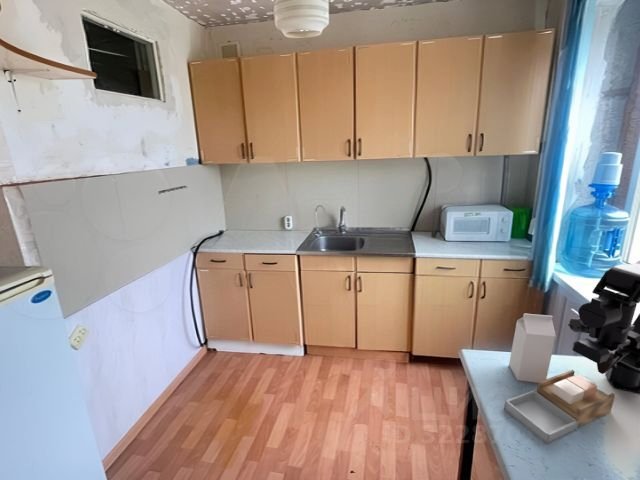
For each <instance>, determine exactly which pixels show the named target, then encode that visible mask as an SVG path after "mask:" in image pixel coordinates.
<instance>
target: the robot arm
mask: <svg viewBox="0 0 640 480" xmlns="http://www.w3.org/2000/svg"><path fill="white" fill-rule="evenodd" d="M611 290H612V291H611ZM592 294H593V295H597V296H598V297H593V298H591V300H590V301H589V302H586V303H583V304H582V305H581V306H579V308H578V317H576V316H575V317H572V318H571V319H570V320H569V323H568V327H569V329H570V330H571V331H572V332H573V333H584V334H588V337H590V338H592V339H596V340H595V341H593V340H592V339H589V338H583V339H580V340H577V341H576V340H575V341H574V342H573V343H572V348H571V349H572V351H573V352H574V353H577V354H578V355H581V356H583V357H584V358H586V359H588V360H589V361H592V362H594V363H596V368H597V371H598V373H600V374H601V375H603V374H605V377H606V378H607V380H608V382H609V383H610V384H611V386H612V388H615V389H618V390H623V391H627V392H632V393H635V394H636V393H637V394H640V313H639V314H638V315H637V317H636V319H635V320H634V321H633V319H634V316H635V312H636V308H637V304H640V260H638V261H637V262H634V263H621V264H617V265H614V266H612V267H610V268H609V269H607V270H606V271H605V272H604V274H603V275H602V277H600V280H599V281H598V283H597V284H596V285H595V287H594V288H593V289H592Z"/></svg>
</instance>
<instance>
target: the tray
mask: <svg viewBox="0 0 640 480" xmlns="http://www.w3.org/2000/svg"><path fill="white" fill-rule="evenodd" d="M503 406H504V407H503V410H504V411H506V412H507V413H508V414H509V415H510V416H512V417H513V419H515V420H516V421H518V422H519V424H521V423H522V424H523V425H522V426H524V428H526V427H527V428H528V429H527V428H526V429H527V430H529V431H530V430H531V431H532V432H533V433H534V436H536V437H537V436H538V437H539V438H540V439H539V438H538V437H537V438H538V439H539V440H541V442H543V443H544V444H545V445H548V444H550V443H552V442H555V441H557V440H560V439H561V438H563V437H566V436H567V435H570V434H572V433H574V432H576V431H577V430H578V427H577V426H578V423H579V422H578V421H577V420H575V419H574V418H573V417H571V416H570V415H568V414H567V413H565V412H564V411H563V410H561V409H560V408H558V407H557V406H555V405H554V404H553V403H551V402H550V401H548V400H547V399H546V398H544V397H543V396H541V395H540V394H538V393H537V390H531V391H527V392H524V393H523V394H519V395H517V396H514V397H512V398H508V399H505V401H504V405H503ZM531 431H530V432H531ZM532 432H531V433H532ZM533 433H532V434H533Z"/></svg>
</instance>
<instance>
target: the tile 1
mask: <svg viewBox="0 0 640 480" xmlns="http://www.w3.org/2000/svg"><path fill="white" fill-rule="evenodd" d="M552 392H553V393H554V394H556V395H557V396H559V397H560V398H562V399H563V400H564V401H566V402H567V403H569V404H573V403H575V402H577V401H580V400H582V399H583V396H584V392H585V390H583V389H581V388H580V387H578V386H576V385H575V384H573V383H572V382H570V381H568V380H567V379H564V380H562V381H559V382H556V383H554V384H553V388H552Z"/></svg>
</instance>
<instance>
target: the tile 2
mask: <svg viewBox="0 0 640 480" xmlns="http://www.w3.org/2000/svg"><path fill="white" fill-rule="evenodd" d="M574 375H575V376H572V377H570V378H567V380H568V381H570V382H572V383H573V384H575V385H576V386H578V387H580V388H581V389H583V390H585V392H584V396H583V399H585V398H587V397H589V396H592V395H594V394H595V393H596V390H597V389H598V384H596V383H594V382H592V381H590V380H588V378H586V377H584V376H582V375H580V374H574Z"/></svg>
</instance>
